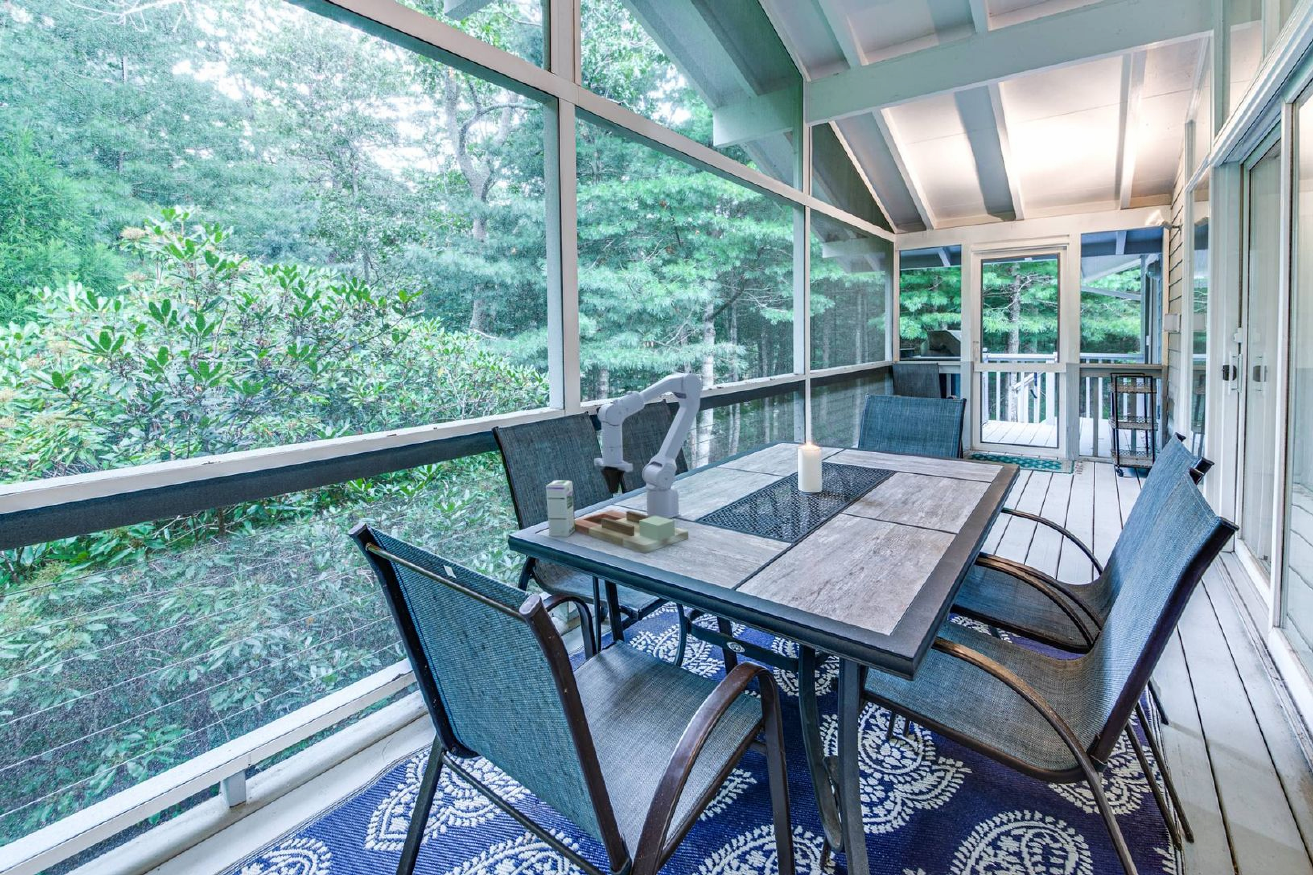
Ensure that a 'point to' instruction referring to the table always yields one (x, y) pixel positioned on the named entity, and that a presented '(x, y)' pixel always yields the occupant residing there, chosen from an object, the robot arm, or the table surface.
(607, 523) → the trap track
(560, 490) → the syrup box
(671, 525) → the sage block
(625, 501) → the table surface
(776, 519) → the table surface
